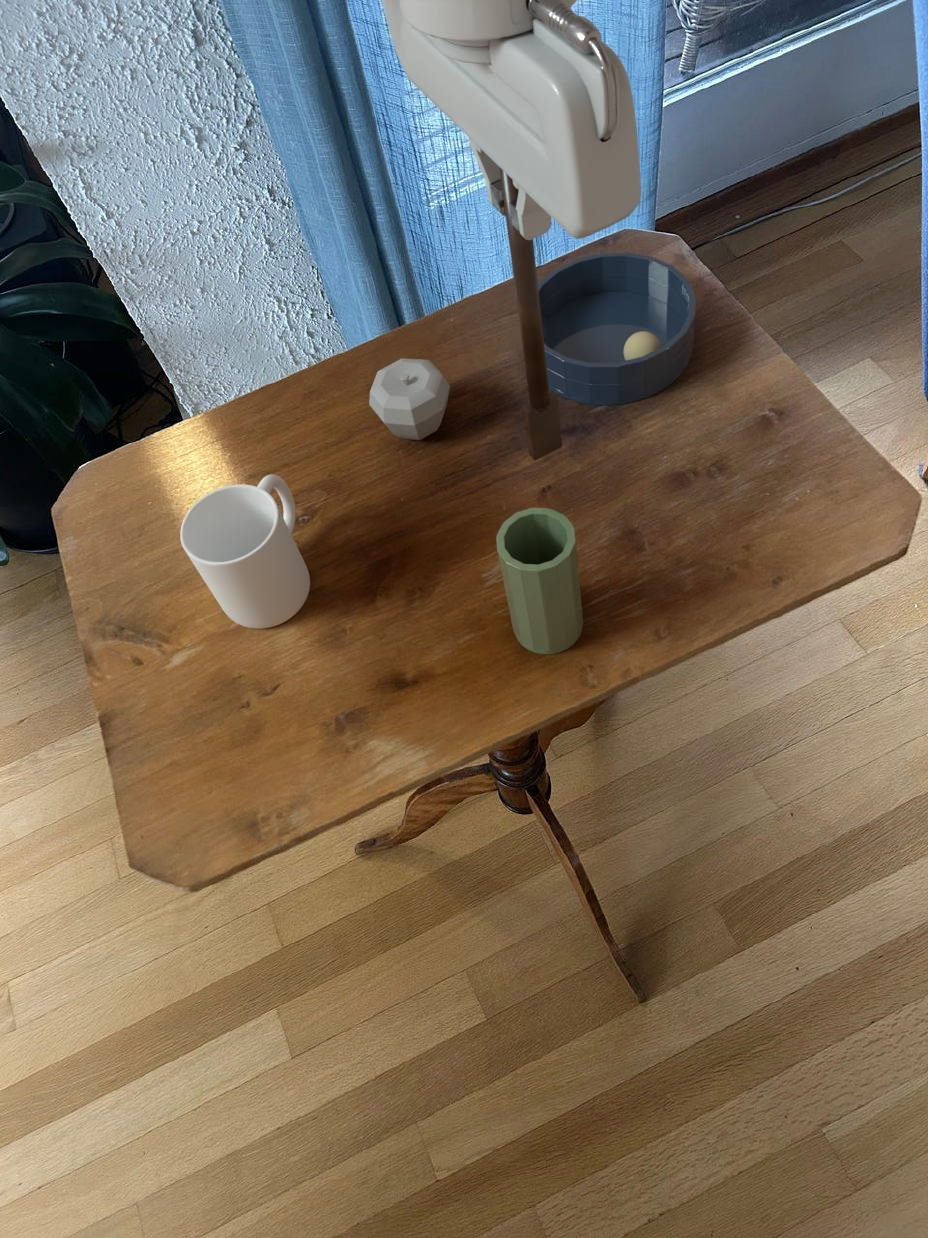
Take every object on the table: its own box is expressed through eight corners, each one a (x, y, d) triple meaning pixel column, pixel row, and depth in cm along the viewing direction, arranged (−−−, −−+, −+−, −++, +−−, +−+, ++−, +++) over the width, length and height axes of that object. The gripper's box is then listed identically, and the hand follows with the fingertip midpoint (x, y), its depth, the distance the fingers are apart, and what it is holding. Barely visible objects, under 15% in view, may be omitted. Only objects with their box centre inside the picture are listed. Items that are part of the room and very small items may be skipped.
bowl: (634, 271, 105) (634, 230, 101) (726, 357, 96) (730, 317, 92) (501, 336, 103) (495, 297, 98) (584, 430, 94) (581, 392, 90)
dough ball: (641, 346, 98) (659, 322, 95) (655, 376, 97) (674, 353, 94) (611, 348, 96) (629, 324, 93) (625, 378, 95) (643, 355, 92)
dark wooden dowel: (555, 437, 73) (523, 135, 54) (564, 449, 72) (536, 147, 53) (527, 452, 73) (484, 153, 53) (536, 463, 72) (497, 165, 52)
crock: (559, 584, 85) (549, 495, 75) (596, 634, 82) (590, 547, 72) (500, 616, 84) (482, 529, 74) (536, 667, 81) (521, 584, 71)
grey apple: (462, 446, 95) (452, 396, 90) (383, 464, 95) (367, 415, 90) (450, 388, 100) (439, 338, 94) (374, 406, 100) (359, 356, 94)
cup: (207, 620, 88) (161, 552, 80) (265, 517, 94) (229, 444, 86) (288, 641, 86) (250, 573, 77) (343, 533, 91) (313, 460, 83)
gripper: (679, 12, 40) (671, 291, 51) (449, -138, 51) (485, 119, 62) (543, 72, 39) (566, 342, 50) (340, -94, 50) (396, 159, 61)
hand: (520, 217), depth 56 cm, fingers closed on dark wooden dowel, 1 cm apart
